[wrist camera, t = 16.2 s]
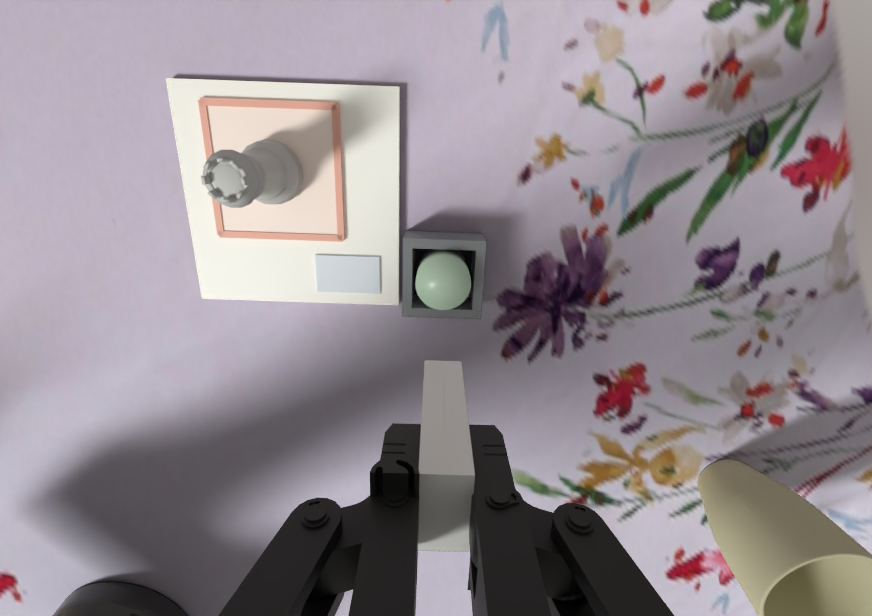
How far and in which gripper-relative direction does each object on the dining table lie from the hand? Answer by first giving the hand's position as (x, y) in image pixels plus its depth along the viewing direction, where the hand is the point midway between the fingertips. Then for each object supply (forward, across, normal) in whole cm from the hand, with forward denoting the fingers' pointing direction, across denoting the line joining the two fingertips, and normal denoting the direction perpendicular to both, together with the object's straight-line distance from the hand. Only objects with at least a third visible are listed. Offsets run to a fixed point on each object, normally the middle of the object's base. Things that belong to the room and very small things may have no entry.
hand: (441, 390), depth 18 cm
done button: (+18, 0, 0) cm, 18 cm away
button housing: (+18, 0, 0) cm, 18 cm away
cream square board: (+18, -11, +5) cm, 22 cm away
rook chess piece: (+18, -12, +7) cm, 23 cm away
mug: (+18, +29, -21) cm, 40 cm away
